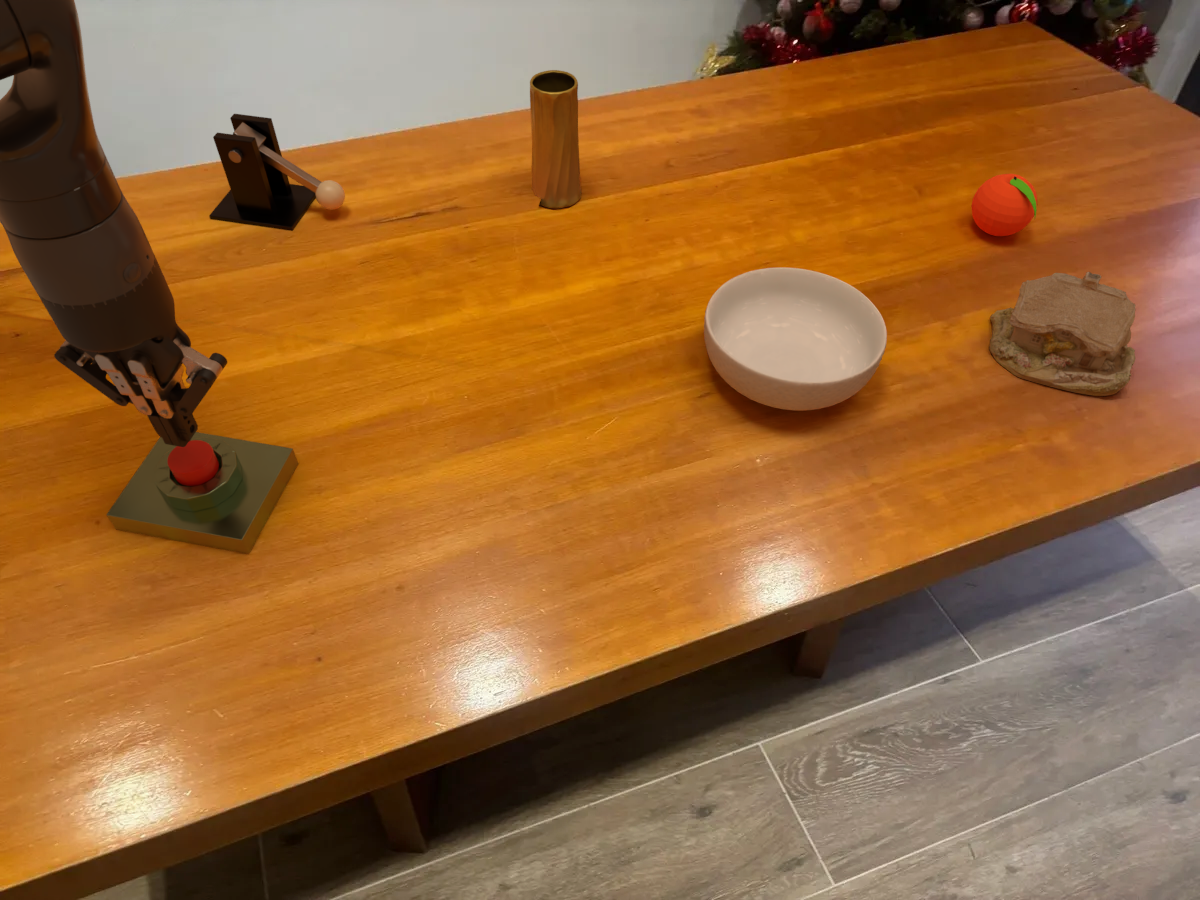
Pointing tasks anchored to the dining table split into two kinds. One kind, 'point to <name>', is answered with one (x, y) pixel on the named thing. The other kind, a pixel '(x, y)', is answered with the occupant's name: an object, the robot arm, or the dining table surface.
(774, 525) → the dining table surface
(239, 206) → the bracket
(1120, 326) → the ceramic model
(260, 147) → the lever
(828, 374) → the cereal bowl
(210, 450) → the button
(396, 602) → the dining table surface
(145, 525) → the button box
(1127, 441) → the dining table surface
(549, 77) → the vase
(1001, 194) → the clementine
